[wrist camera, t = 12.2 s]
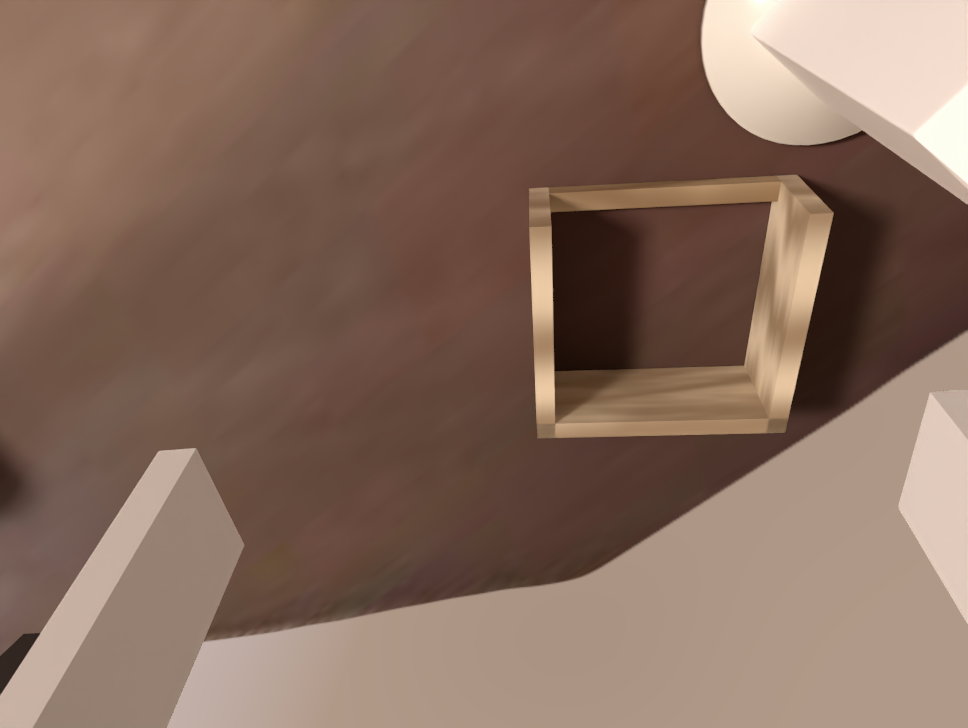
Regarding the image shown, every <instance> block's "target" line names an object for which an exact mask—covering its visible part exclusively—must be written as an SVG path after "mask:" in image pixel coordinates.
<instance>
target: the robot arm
mask: <svg viewBox="0 0 968 728" xmlns="http://www.w3.org/2000/svg"><path fill="white" fill-rule="evenodd" d="M898 508H899V510H900V511H901V513H902V515H903V516H904V518H905V520H906V521H907V523H908V525H909V526H910V528H911V530H912V532H913V533H914V535H915V537H916V538H917V540H918V542H919V543H920V545H921V547H922V548H923V550H924V552H925V553H926V555H927V557H928V558H929V560H930V562H931V563H932V565H933V567H934V569H935V570H936V572H937V574H938V575H939V577H940V579H941V580H942V582H943V584H944V585H945V587H946V589H947V590H948V592H949V594H950V595H951V597H952V599H953V600H954V602H955V604H956V605H957V607H958V609H959V611H960V612H961V614H962V616H963V617H964V619H965V621H966V622H967V624H968V389H965V390H952V391H940V392H930V394H929V398H928V401H927V405H926V409H925V412H924V416H923V420H922V423H921V427H920V430H919V434H918V437H917V441H916V445H915V449H914V452H913V455H912V459H911V463H910V466H909V470H908V474H907V477H906V481H905V484H904V488H903V492H902V495H901V499H900V502H899V506H898ZM243 547H244V544H243V542H242V539H241V537H240V535H239V533H238V531H237V529H236V527H235V525H234V523H233V521H232V519H231V517H230V515H229V513H228V511H227V509H226V507H225V505H224V503H223V501H222V499H221V497H220V495H219V493H218V491H217V489H216V487H215V485H214V483H213V481H212V479H211V477H210V475H209V473H208V471H207V469H206V467H205V465H204V463H203V461H202V459H201V457H200V455H199V453H198V451H197V449H196V448H192V449H179V450H166V451H158V453H157V455H156V456H155V458H154V459H153V461H152V462H151V464H150V465H149V467H148V468H147V470H146V471H145V473H144V475H143V476H142V478H141V479H140V481H139V482H138V484H137V485H136V487H135V488H134V490H133V492H132V493H131V495H130V496H129V498H128V499H127V501H126V502H125V504H124V505H123V507H122V509H121V510H120V512H119V513H118V515H117V516H116V518H115V519H114V521H113V522H112V524H111V525H110V527H109V529H108V530H107V532H106V533H105V535H104V536H103V538H102V539H101V541H100V542H99V544H98V546H97V547H96V549H95V550H94V552H93V553H92V555H91V556H90V558H89V559H88V561H87V563H86V564H85V566H84V567H83V569H82V570H81V572H80V573H79V575H78V576H77V578H76V579H75V581H74V583H73V584H72V586H71V587H70V589H69V590H68V592H67V593H66V595H65V596H64V598H63V600H62V601H61V603H60V604H59V606H58V607H57V609H56V610H55V612H54V613H53V615H52V616H51V618H50V620H49V621H48V623H47V624H46V626H45V627H44V629H43V630H42V632H41V633H34V634H23V635H22V636H21V637H20V638H19V639H18V640H17V641H16V642H15V643H14V644H13V645H12V646H11V647H9V648H8V649H7V650H6V651H5V652H4V653H3V654H2V655H1V656H0V728H167V725H168V723H169V720H170V718H171V716H172V713H173V711H174V709H175V706H176V704H177V702H178V699H179V697H180V695H181V692H182V690H183V688H184V685H185V683H186V681H187V678H188V676H189V674H190V671H191V669H192V667H193V664H194V662H195V660H196V657H197V655H198V653H199V650H200V648H201V646H202V643H203V641H204V639H205V636H206V634H207V631H208V629H209V627H210V624H211V622H212V620H213V617H214V615H215V613H216V610H217V608H218V606H219V603H220V601H221V599H222V596H223V594H224V592H225V589H226V587H227V585H228V582H229V580H230V578H231V575H232V573H233V571H234V568H235V566H236V564H237V561H238V559H239V556H240V554H241V552H242V549H243Z"/></svg>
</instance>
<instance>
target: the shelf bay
mask: <svg viewBox="0 0 968 728" xmlns="http://www.w3.org/2000/svg"><path fill="white" fill-rule="evenodd" d="M769 201H772V204H771V210H770V216H769V222H768V228H767V234H766V240H765V246H764V252H763V258H762V264H761V270H760V276H759V282H758V288H757V294H756V300H755V306H754V311H753V317H752V323H751V329H750V335H749V341H748V347H747V353H746V359H745V365H744V366H717V367H683V368H650V369H617V370H584V371H554V333H553V279H552V226H551V213H550V212H564V211H585V210H605V209H626V208H646V207H667V206H687V205H708V204H728V203H748V202H769ZM833 214H834V213H833V212H832V211H831V210H830V209H829V208H828V206H827V205H826V204H825V203H824V202H823V201H822V200H821V199H820V198H819V197H818V196H817V195H816V194H815V193H814V192H813V191H812V190H811V189H810V188H809V187H808V186H807V185H806V184H805V183H804V181H803V180H802V179H801V178H800V177H799V176H798V175H781V176H762V177H743V178H723V179H704V180H685V181H665V182H646V183H627V184H607V185H588V186H569V187H550V188H530V189H529V229H530V256H531V282H532V309H533V336H534V363H535V389H536V416H537V438H567V437H612V436H657V435H702V434H747V433H785V430H786V426H787V421H788V417H789V412H790V408H791V403H792V399H793V394H794V390H795V385H796V381H797V376H798V372H799V367H800V363H801V358H802V354H803V349H804V345H805V340H806V336H807V331H808V327H809V322H810V318H811V313H812V309H813V304H814V300H815V295H816V291H817V286H818V282H819V277H820V273H821V268H822V264H823V259H824V255H825V250H826V246H827V241H828V237H829V232H830V228H831V223H832V219H833Z"/></svg>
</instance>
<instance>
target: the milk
mask: <svg viewBox="0 0 968 728" xmlns="http://www.w3.org/2000/svg"><path fill="white" fill-rule="evenodd" d="M750 34H751V36H753V37H754V38H755V39H756V40H757V41H758V42H759V43H760V44H761V45H762V46H763V47H764V48H765V49H766V50H767V51H769V52H770V53H771V54H772V55H773V56H774V57H775V58H776V59H777V60H778V61H779V62H780V63H781V64H782V65H783V66H785V67H786V68H787V69H788V70H789V71H790V72H791V73H792V74H793V75H794V76H795V77H796V78H797V79H798V80H799V81H801V82H802V83H803V84H804V85H805V86H806V87H807V88H808V89H809V90H810V91H811V92H812V93H813V94H814V95H815V96H817V97H818V98H819V99H820V100H821V101H822V102H823V103H825V104H826V105H827V106H829V107H830V108H832V109H833V110H834V111H836V112H837V113H839V114H840V115H842V116H843V117H844V118H846V119H847V120H849V121H850V122H851V123H853V124H854V125H856V126H857V127H859V128H860V129H861V130H863V131H864V132H866V133H867V134H868V135H870V136H871V137H873V138H874V139H876V140H877V141H878V142H880V143H881V144H883V145H884V146H885V147H887V148H888V149H890V150H891V151H893V152H894V153H895V154H897V155H898V156H900V157H901V158H902V159H904V160H905V161H907V162H908V163H910V164H911V165H912V166H914V167H915V168H917V169H918V170H919V171H921V172H922V173H924V174H925V175H927V176H928V177H929V178H931V179H932V180H934V181H935V182H936V183H938V184H939V185H941V186H942V187H944V188H945V189H946V190H948V191H949V192H951V193H952V194H953V195H955V196H956V197H958V198H959V199H961V200H962V201H963V202H965V203H966V204H968V0H777V1H776V2H775V3H774V4H773V5H772V7H771V8H770V9H769V10H768V11H767V12H766V13H765V15H764V16H763V17H762V18H761V19H760V20H759V21H758V23H757V24H756V25H755V26H754V27H753V28H752V29H751V31H750Z"/></svg>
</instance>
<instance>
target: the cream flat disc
mask: <svg viewBox="0 0 968 728" xmlns="http://www.w3.org/2000/svg"><path fill="white" fill-rule="evenodd" d="M776 1H777V0H705V4H704V8H703V14H702V20H701V28H700V49H701V59H702V64H703V68H704V72H705V76H706V78H707V81H708V84H709V86H710V89H711V91H712V92H713V94H714V96H715V98H716V99H717V101H718V102H719V104H720V105H721V106H722V107H723V109H724V110H725V111H726V112H727V113H728V115H729V116H730V117H731V118H733V119H734V120H735V121H736V122H737V123H738V124H739V125H740V126H742V127H743V128H745V129H746V130H748V131H749V132H751V133H753V134H755V135H757V136H759V137H761V138H763V139H766V140H770V141H773V142H777V143H782V144H789V145H813V144H822V143H827V142H831V141H835V140H839V139H842V138H845V137H848V136H850V135H853V134H856V133H858V132H860V131H862V130H861V129H860V128H859V127H857V126H856V125H854V124H853V123H851V122H850V121H849V120H847V119H846V118H844V117H843V116H842V115H840V114H839V113H837V112H836V111H834V110H833V109H832V108H830V107H829V106H827V105H826V104H825V103H823V102H822V101H821V100H820V99H819V98H818V97H817V96H815V95H814V94H813V93H812V92H811V91H810V90H809V89H808V88H807V87H806V86H805V85H804V84H803V83H802V82H801V81H799V80H798V79H797V78H796V77H795V76H794V75H793V74H792V73H791V72H790V71H789V70H788V69H787V68H786V67H785V66H783V65H782V64H781V63H780V62H779V61H778V60H777V59H776V58H775V57H774V56H773V55H772V54H771V53H770V52H769V51H767V50H766V49H765V48H764V47H763V46H762V45H761V44H760V43H759V42H758V41H757V40H756V39H755V38H754V37H753V36H751V34H750V31H751V29H752V28H753V27H754V26H755V25H756V24H757V23H758V21H759V20H760V19H761V18H762V17H763V16H764V15H765V13H766V12H767V11H768V10H769V9H770V8H771V7H772V5H773V4H774V3H775V2H776Z"/></svg>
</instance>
